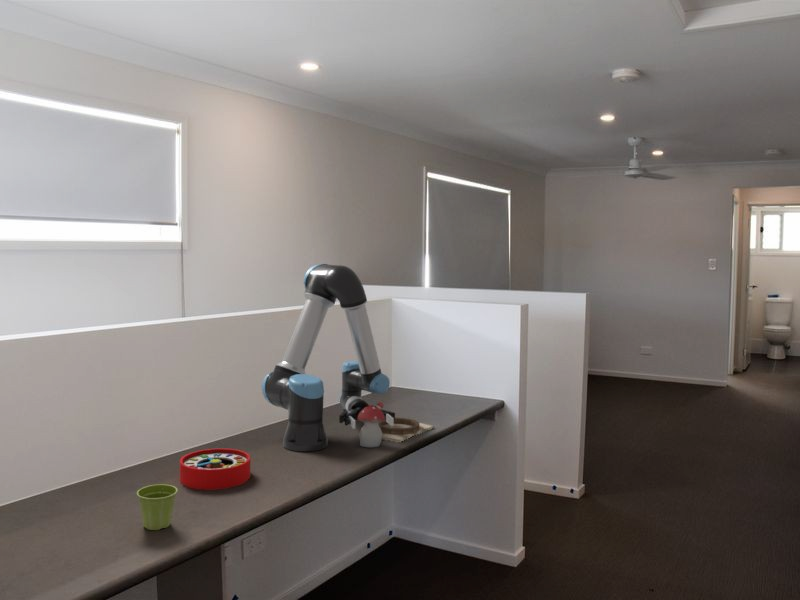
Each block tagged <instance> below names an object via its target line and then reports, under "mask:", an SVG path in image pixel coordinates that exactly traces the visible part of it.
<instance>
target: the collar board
mask: <svg viewBox="0 0 800 600" xmlns="http://www.w3.org/2000/svg"><path fill="white" fill-rule="evenodd" d="M379 427H380V429H381V431H382V440H384V439H385V440H384V441H388V440H390V441H389V442H393V441H395V442H394V443H398V442H400V443H402V442H401V441H403V442H404V440H405V441H407V440H409V439H408V438H410V437H412V436H414V435H416V436H418V435H417V434H419V435H421V434H423V433H425V431H426V432H428V431H430V430H432V428H433V429H434V425H433V424H428V423H422V422H419V421H417V420H416V419H413V418H406V417H395V420H394V426H391V425H389V424H388V423H387V422H386V420H384V421H382V422H379ZM427 430H428V431H427ZM422 432H423V433H422ZM420 433H421V434H420ZM414 437H415V436H414ZM412 438H413V437H412ZM406 439H407V440H406ZM410 439H411V438H410Z"/></svg>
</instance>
